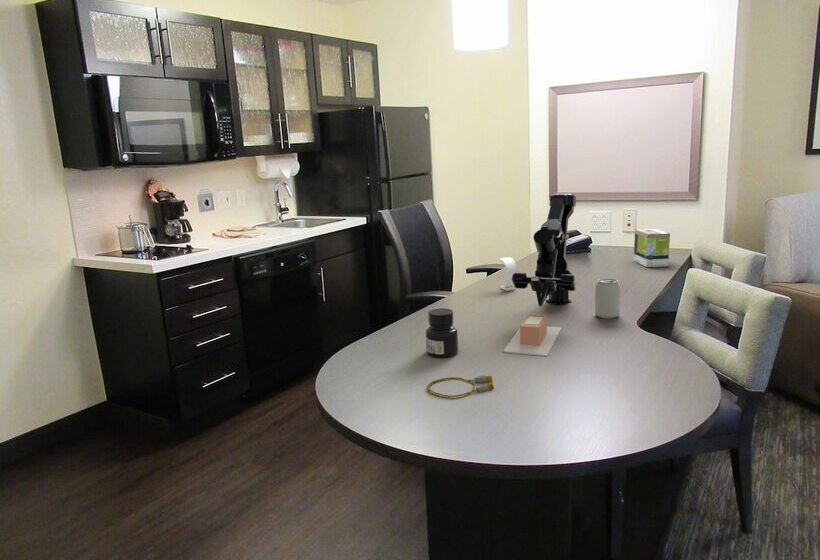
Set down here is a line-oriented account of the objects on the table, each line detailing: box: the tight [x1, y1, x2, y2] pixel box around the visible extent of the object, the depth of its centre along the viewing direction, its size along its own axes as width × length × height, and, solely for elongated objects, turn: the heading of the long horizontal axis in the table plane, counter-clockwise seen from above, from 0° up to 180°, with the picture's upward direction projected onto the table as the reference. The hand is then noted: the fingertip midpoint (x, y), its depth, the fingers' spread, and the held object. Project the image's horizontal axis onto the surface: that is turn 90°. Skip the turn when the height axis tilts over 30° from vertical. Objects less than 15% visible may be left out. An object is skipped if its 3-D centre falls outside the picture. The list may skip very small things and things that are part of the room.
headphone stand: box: [498, 256, 519, 292], centre depth 224 cm, size 5×6×12 cm
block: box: [519, 314, 548, 346], centre depth 166 cm, size 6×6×11 cm
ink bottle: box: [425, 307, 459, 359], centre depth 160 cm, size 10×9×12 cm
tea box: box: [633, 228, 671, 268], centre depth 253 cm, size 15×10×15 cm, turn 179°
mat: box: [502, 326, 562, 357], centre depth 167 cm, size 24×12×1 cm, turn 157°
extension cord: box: [426, 375, 495, 400], centre depth 137 cm, size 12×16×2 cm
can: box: [594, 277, 621, 320], centre depth 184 cm, size 8×8×12 cm
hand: (540, 305), depth 174 cm, fingers closed
